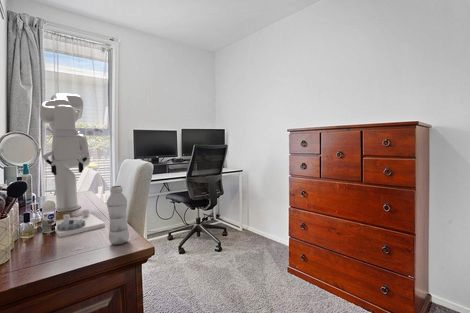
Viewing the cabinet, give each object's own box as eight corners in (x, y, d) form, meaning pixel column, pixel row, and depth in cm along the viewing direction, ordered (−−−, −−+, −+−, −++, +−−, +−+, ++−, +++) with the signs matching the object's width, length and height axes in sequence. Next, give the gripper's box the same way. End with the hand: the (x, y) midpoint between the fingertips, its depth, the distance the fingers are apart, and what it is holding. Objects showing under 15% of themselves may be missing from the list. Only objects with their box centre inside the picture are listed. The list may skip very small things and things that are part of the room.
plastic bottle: (119, 248, 86) (116, 188, 84) (104, 245, 88) (101, 187, 87) (133, 240, 92) (131, 185, 91) (118, 238, 94) (116, 184, 93)
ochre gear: (51, 220, 119) (51, 213, 119) (69, 216, 124) (69, 210, 124) (54, 223, 114) (53, 217, 114) (73, 219, 119) (72, 213, 118)
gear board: (50, 225, 112) (50, 215, 111) (91, 217, 123) (91, 207, 122) (59, 237, 97) (58, 225, 97) (104, 226, 108) (104, 216, 108)
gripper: (85, 134, 120) (87, 170, 122) (39, 134, 108) (42, 174, 110) (90, 134, 115) (92, 172, 116) (42, 134, 103) (45, 176, 104)
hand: (68, 173), depth 113 cm, fingers open, 9 cm apart
